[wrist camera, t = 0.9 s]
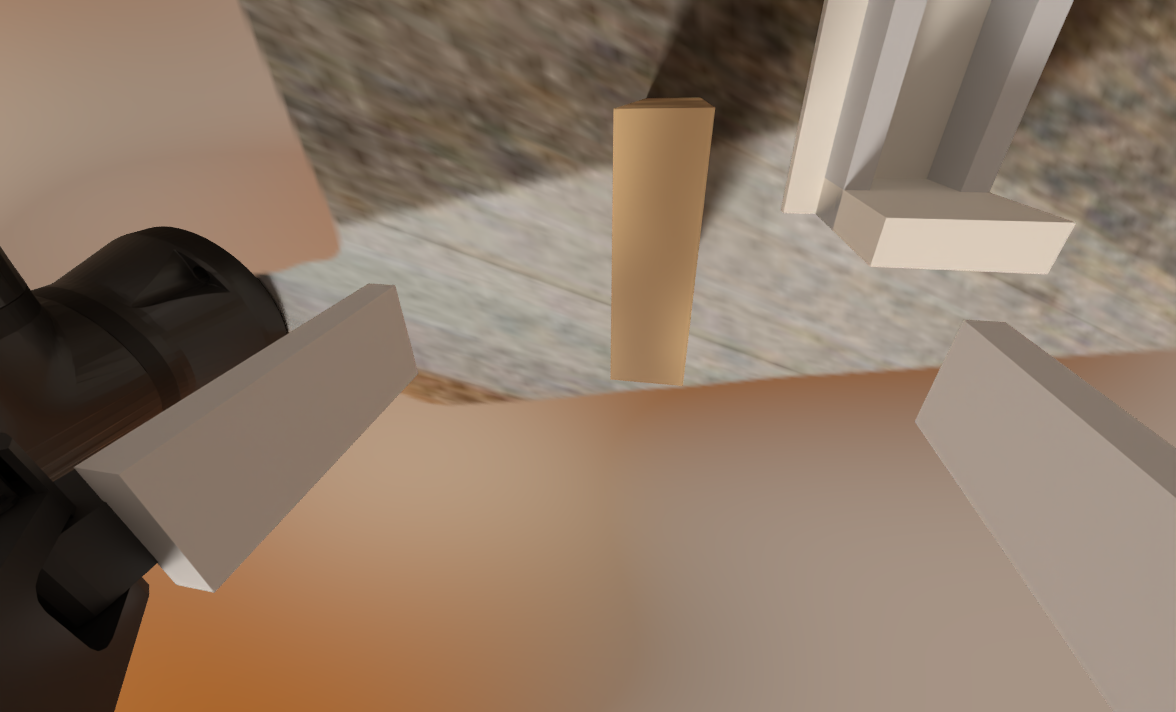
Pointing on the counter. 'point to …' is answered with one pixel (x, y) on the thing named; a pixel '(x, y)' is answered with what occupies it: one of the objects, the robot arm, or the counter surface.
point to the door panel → (656, 233)
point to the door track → (924, 131)
